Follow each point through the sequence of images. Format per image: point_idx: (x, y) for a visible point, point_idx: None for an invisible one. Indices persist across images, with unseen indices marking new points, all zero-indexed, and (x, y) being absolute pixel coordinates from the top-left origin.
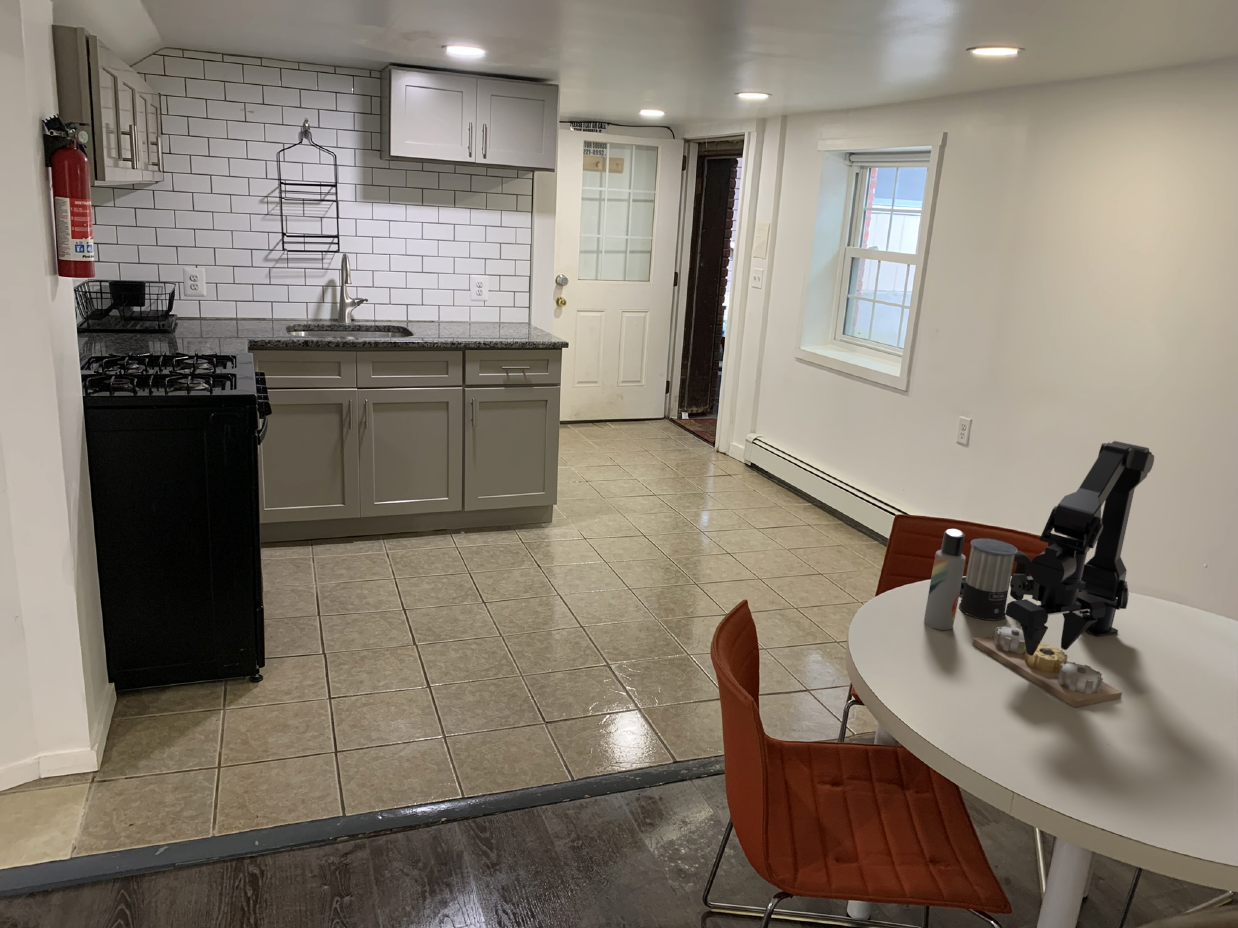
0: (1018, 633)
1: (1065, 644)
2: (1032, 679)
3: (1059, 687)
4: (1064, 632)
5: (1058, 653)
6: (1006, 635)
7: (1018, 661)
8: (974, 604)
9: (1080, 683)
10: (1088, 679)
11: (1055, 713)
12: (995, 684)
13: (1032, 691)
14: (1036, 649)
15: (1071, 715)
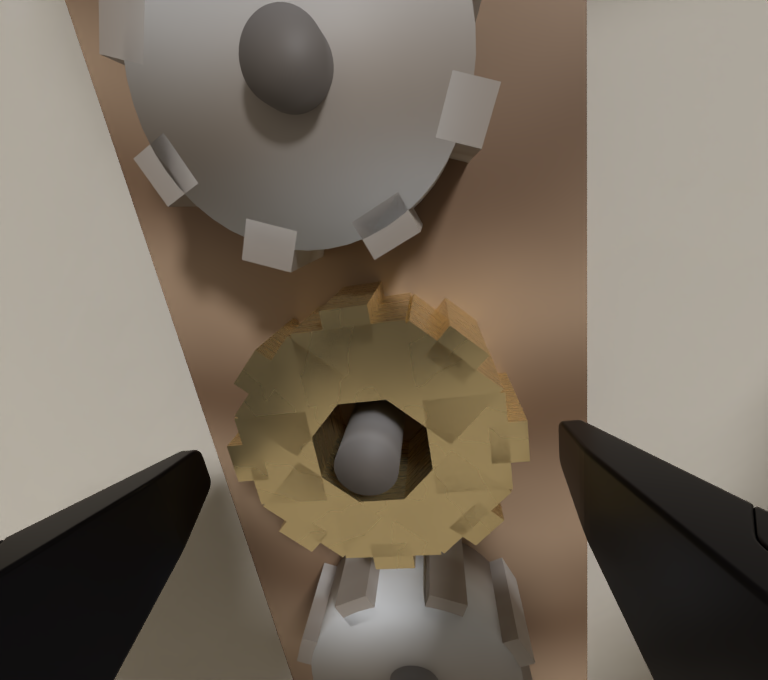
0: (298, 111)
1: (575, 486)
2: None
3: (294, 598)
4: (640, 531)
5: (448, 491)
6: (169, 111)
7: (228, 347)
8: None
9: None
10: None
11: (200, 656)
12: (50, 459)
13: (195, 534)
14: (180, 552)
15: (253, 676)
